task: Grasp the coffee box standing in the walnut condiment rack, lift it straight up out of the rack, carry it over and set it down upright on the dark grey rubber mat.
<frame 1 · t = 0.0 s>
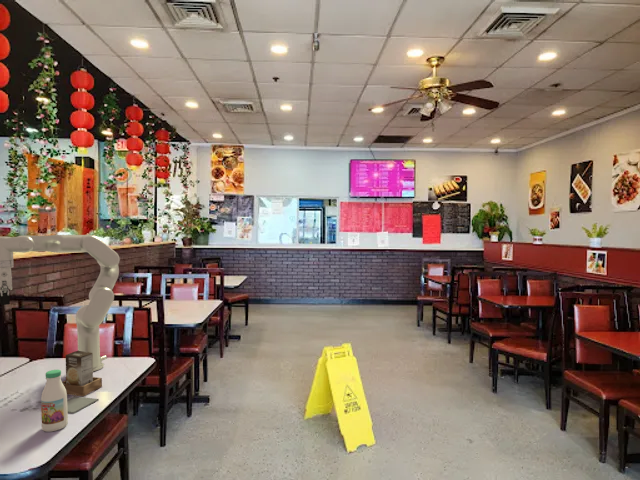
hand: (4, 303, 181), 37 cm above the table, tool pointing down, fingers open, 9 cm apart
coffee box: (80, 390, 178), resting in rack
mat: (74, 405, 163), on the table
milk bottle: (55, 427, 145), on the table
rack: (79, 390, 178), on the table
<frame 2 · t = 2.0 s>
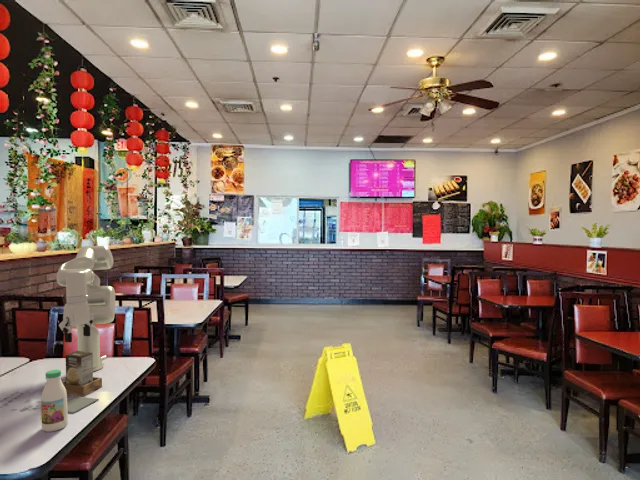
hand: (77, 338, 177), 22 cm above the table, tool pointing down, fingers open, 9 cm apart
nothing on the table moved.
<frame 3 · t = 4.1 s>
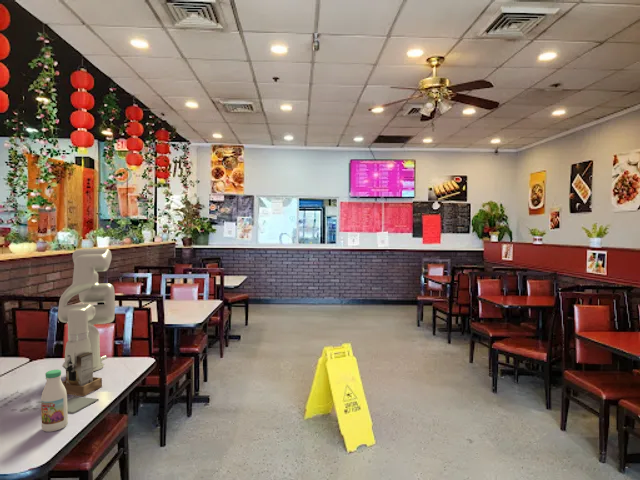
hand: (79, 376, 177), 6 cm above the table, tool pointing down, fingers closed on coffee box, 6 cm apart
coffee box: (79, 390, 178), resting in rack, touching gripper
everything else where it was.
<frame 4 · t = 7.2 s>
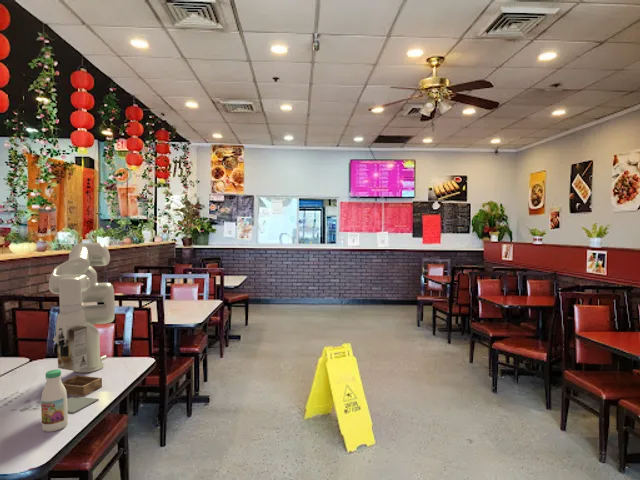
hand: (72, 352, 162), 21 cm above the table, tool pointing down, fingers closed on coffee box, 6 cm apart
coffee box: (73, 367, 162), point 15 cm above the table, touching gripper
everything else where it was.
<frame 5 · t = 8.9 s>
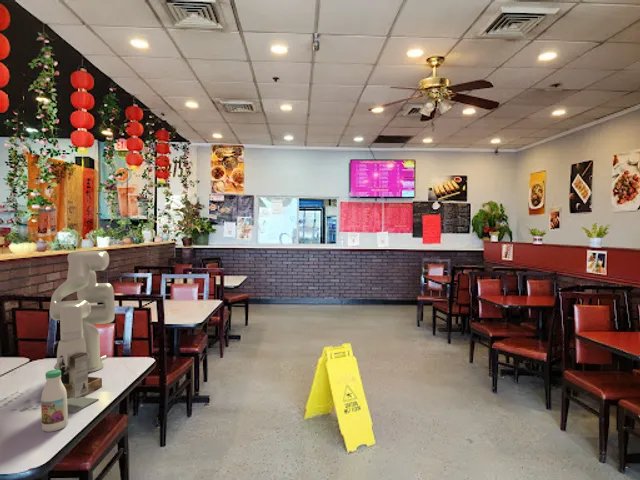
hand: (73, 379, 162), 10 cm above the table, tool pointing down, fingers closed on coffee box, 6 cm apart
coffee box: (73, 394, 162), point 4 cm above the table, touching gripper
everything else where it was.
when the fingers open (7 cm above the table, at t = 10.2 s): coffee box stays where it is, resting on mat.
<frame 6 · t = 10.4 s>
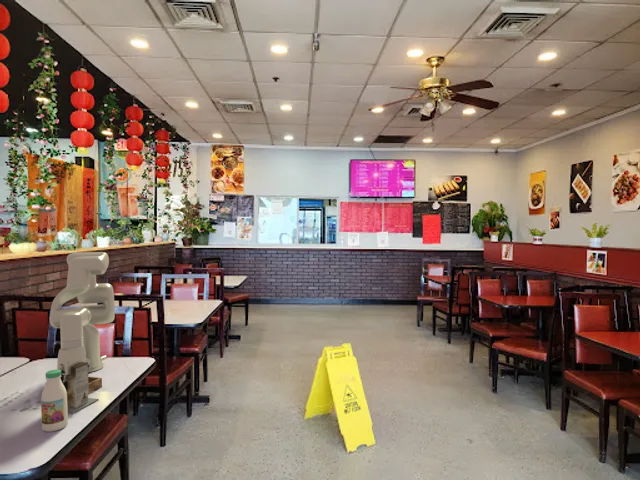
hand: (73, 386, 162), 7 cm above the table, tool pointing down, fingers open, 8 cm apart
coffee box: (74, 404, 163), resting on mat
everything else where it was.
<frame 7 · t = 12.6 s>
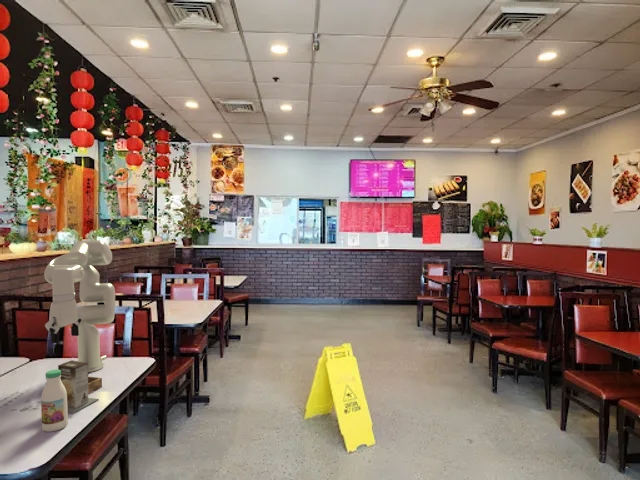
hand: (65, 339, 168), 25 cm above the table, tool pointing down, fingers open, 9 cm apart
nothing on the table moved.
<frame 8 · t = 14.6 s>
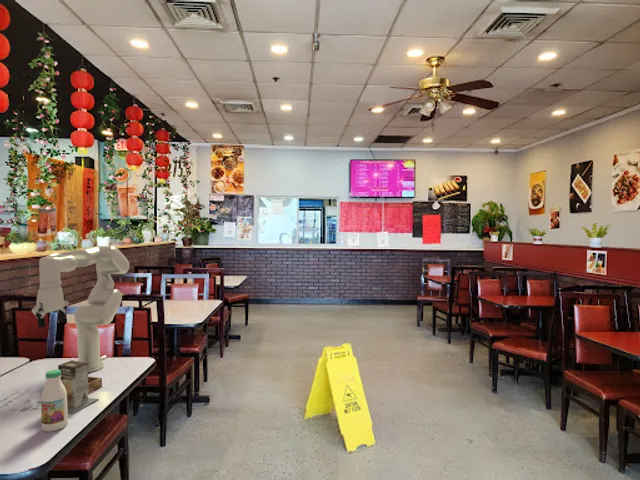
hand: (51, 324, 179), 28 cm above the table, tool pointing down, fingers open, 9 cm apart
nothing on the table moved.
at the end: coffee box inside the target area on the mat (0.1 cm from its centre), point 0.4 cm above the mat's base; coffee box tilted 0°; the gripper is holding nothing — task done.
